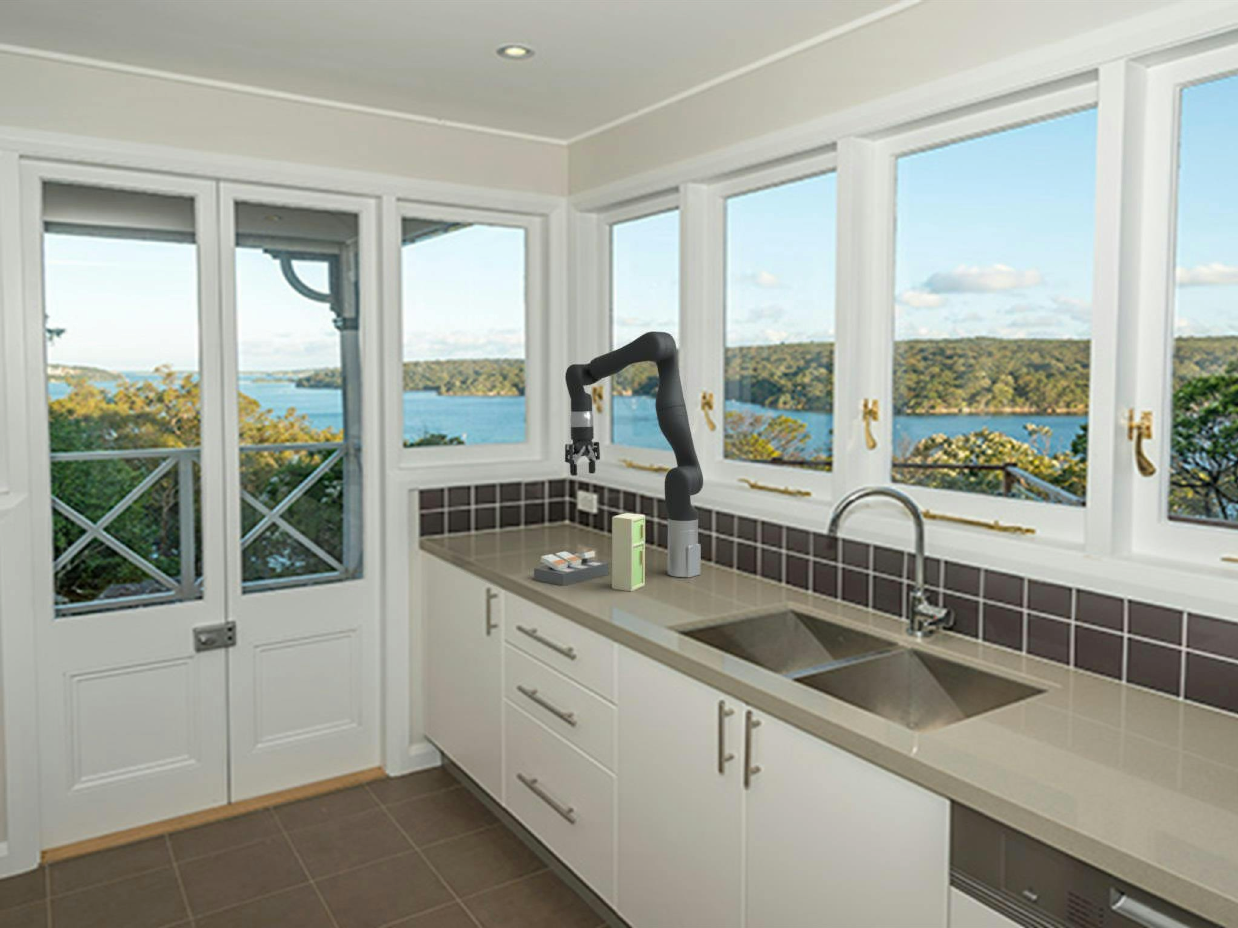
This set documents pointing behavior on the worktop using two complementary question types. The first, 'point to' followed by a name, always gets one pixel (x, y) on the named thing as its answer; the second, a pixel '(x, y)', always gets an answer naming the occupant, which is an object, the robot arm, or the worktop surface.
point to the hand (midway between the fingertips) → (583, 474)
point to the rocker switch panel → (572, 572)
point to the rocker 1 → (554, 562)
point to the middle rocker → (569, 558)
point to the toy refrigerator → (628, 551)
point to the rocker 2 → (585, 555)
